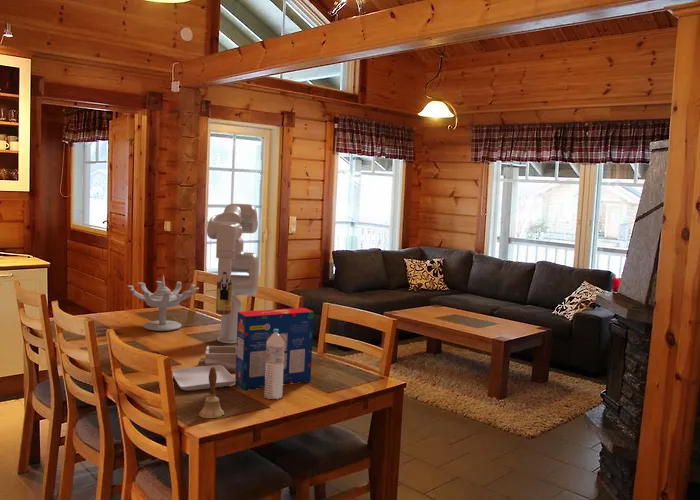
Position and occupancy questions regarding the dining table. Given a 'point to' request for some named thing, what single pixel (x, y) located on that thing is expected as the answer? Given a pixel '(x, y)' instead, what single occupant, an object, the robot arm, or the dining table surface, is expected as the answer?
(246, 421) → the dining table surface
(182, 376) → the salad plate
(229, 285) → the sauce bottle
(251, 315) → the blue cardboard box
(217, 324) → the dining table surface
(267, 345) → the water bottle
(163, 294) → the candelabra
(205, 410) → the hand bell
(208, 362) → the bottle caddy
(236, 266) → the robot arm
